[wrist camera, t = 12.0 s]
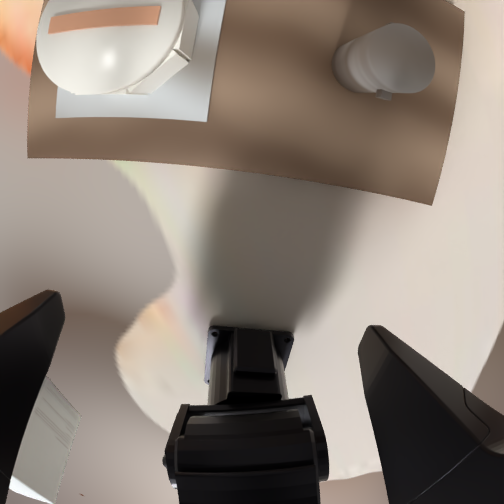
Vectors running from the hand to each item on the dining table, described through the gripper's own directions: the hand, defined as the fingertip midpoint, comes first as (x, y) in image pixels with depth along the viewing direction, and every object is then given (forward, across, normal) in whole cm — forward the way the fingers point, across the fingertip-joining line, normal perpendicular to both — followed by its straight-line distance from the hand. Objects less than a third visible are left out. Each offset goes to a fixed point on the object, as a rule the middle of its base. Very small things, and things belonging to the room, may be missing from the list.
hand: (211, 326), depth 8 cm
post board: (+12, 0, -9) cm, 15 cm away
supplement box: (+12, +19, +25) cm, 34 cm away
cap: (+10, +6, -9) cm, 15 cm away
